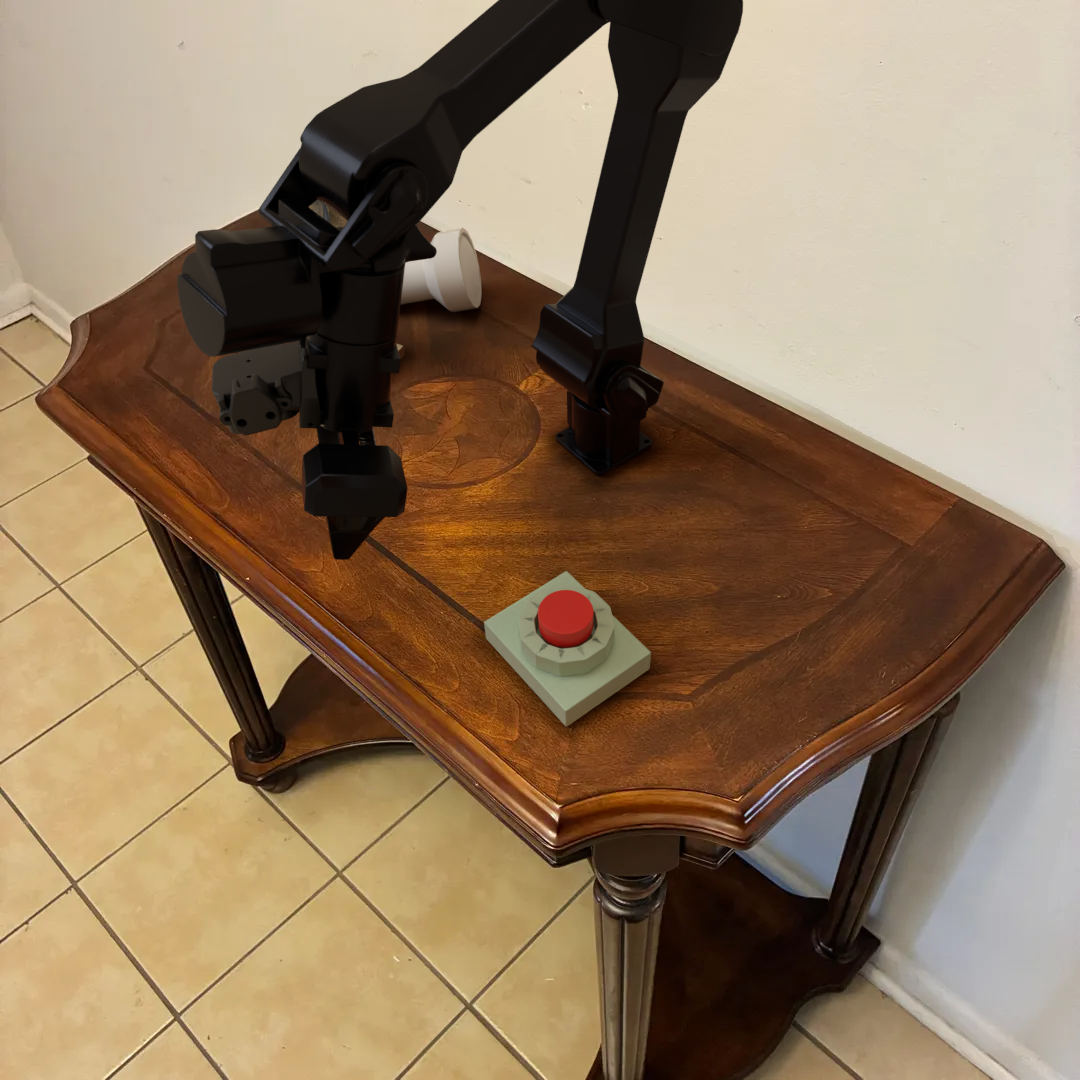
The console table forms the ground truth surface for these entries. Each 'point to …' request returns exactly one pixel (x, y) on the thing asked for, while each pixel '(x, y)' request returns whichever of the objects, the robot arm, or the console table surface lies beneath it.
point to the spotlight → (446, 274)
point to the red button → (565, 618)
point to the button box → (568, 653)
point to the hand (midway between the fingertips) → (336, 517)
